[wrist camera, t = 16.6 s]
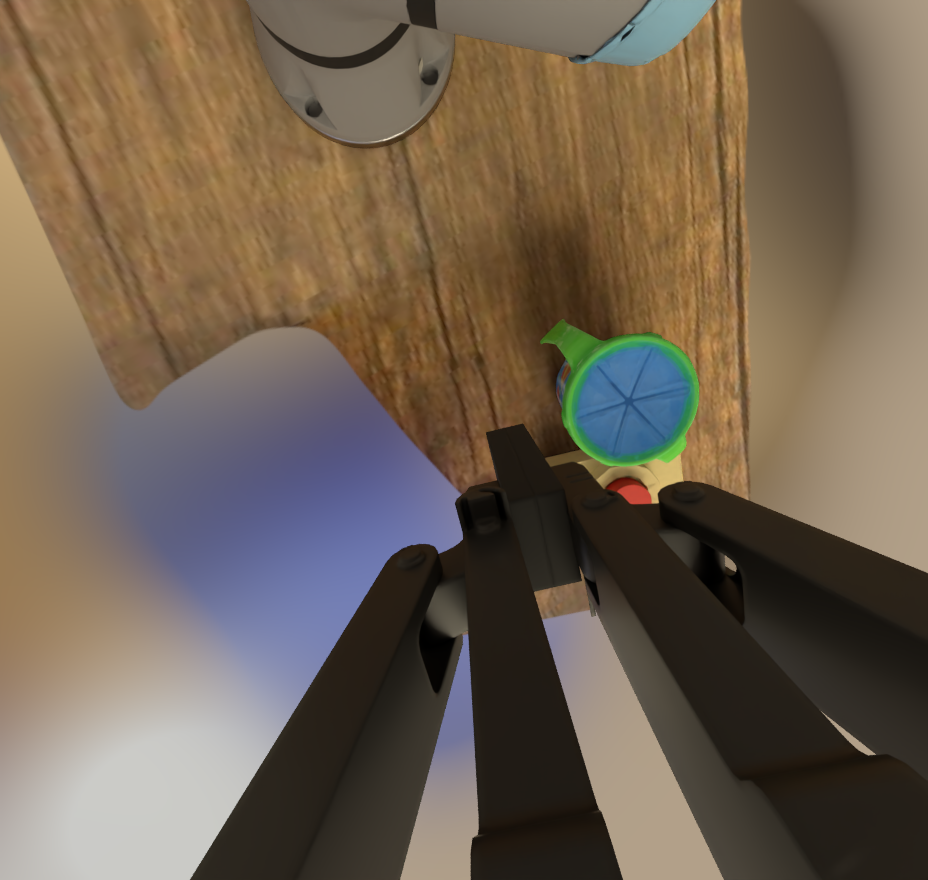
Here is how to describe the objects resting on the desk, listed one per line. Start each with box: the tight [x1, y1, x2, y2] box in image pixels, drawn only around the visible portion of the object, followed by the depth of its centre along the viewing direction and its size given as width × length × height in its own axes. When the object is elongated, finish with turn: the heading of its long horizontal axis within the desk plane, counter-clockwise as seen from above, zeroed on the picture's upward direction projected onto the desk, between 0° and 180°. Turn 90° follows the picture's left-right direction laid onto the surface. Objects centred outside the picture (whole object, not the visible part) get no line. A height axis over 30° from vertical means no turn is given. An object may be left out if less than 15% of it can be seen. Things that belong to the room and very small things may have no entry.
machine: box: [545, 450, 683, 503], centre depth 44 cm, size 13×8×5 cm, turn 104°
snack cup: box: [540, 319, 699, 467], centre depth 38 cm, size 16×10×10 cm
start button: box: [606, 478, 652, 504], centre depth 41 cm, size 4×4×2 cm
